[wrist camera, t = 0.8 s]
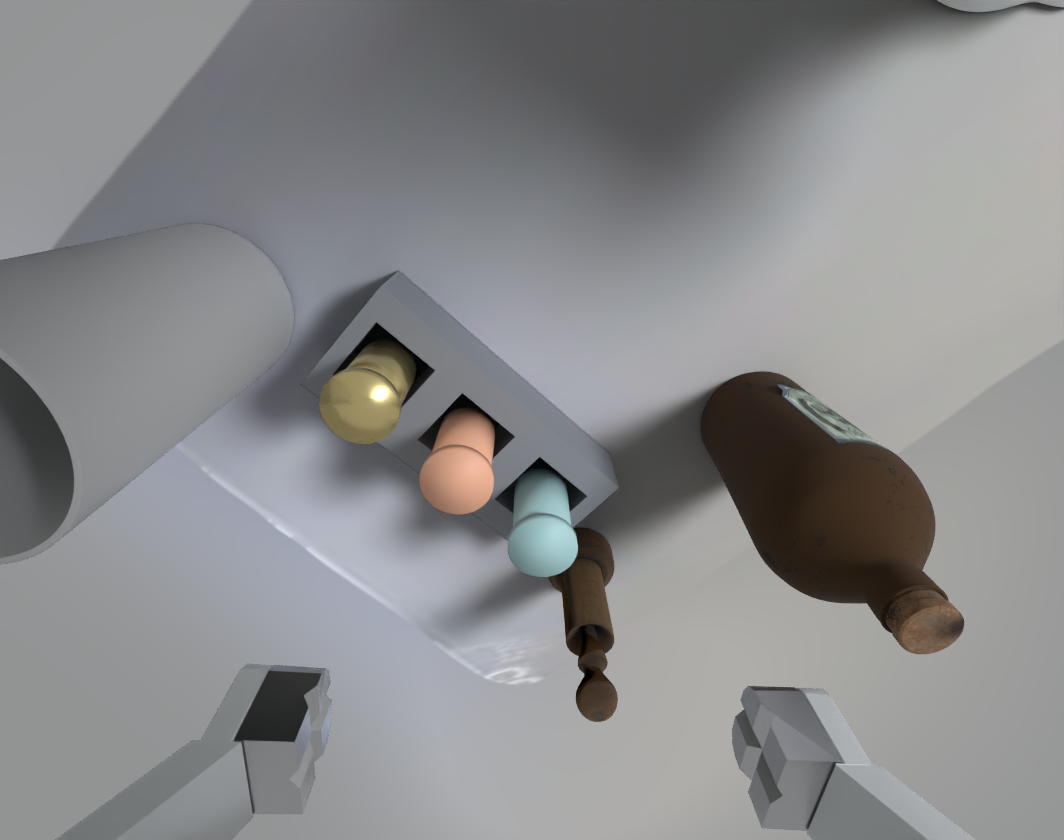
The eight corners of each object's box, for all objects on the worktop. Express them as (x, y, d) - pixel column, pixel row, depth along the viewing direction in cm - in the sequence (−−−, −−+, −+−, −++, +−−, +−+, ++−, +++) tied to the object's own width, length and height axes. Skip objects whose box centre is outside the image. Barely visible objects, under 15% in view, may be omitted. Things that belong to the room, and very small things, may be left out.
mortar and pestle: (613, 578, 58) (646, 742, 42) (550, 584, 59) (558, 750, 42) (608, 523, 56) (642, 677, 39) (542, 531, 56) (547, 686, 40)
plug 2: (463, 391, 44) (451, 436, 37) (512, 431, 46) (508, 481, 39) (423, 434, 46) (403, 484, 39) (471, 471, 47) (460, 526, 40)
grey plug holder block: (398, 270, 46) (381, 285, 40) (609, 453, 52) (618, 487, 47) (326, 358, 49) (300, 384, 43) (534, 520, 55) (535, 560, 50)
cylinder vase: (273, 214, 44) (-3, 277, 21) (314, 369, 49) (128, 554, 26) (113, 230, 44) (-326, 309, 22) (171, 382, 49) (-135, 575, 27)
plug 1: (380, 322, 42) (349, 355, 35) (433, 366, 44) (414, 407, 37) (340, 369, 44) (303, 410, 37) (393, 410, 45) (367, 458, 38)
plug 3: (539, 453, 47) (541, 507, 40) (583, 489, 48) (592, 547, 41) (498, 492, 48) (493, 550, 41) (542, 526, 50) (544, 588, 43)
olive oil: (754, 491, 54) (916, 734, 31) (668, 433, 52) (777, 651, 29) (839, 406, 51) (1092, 611, 28) (751, 339, 48) (951, 504, 25)
